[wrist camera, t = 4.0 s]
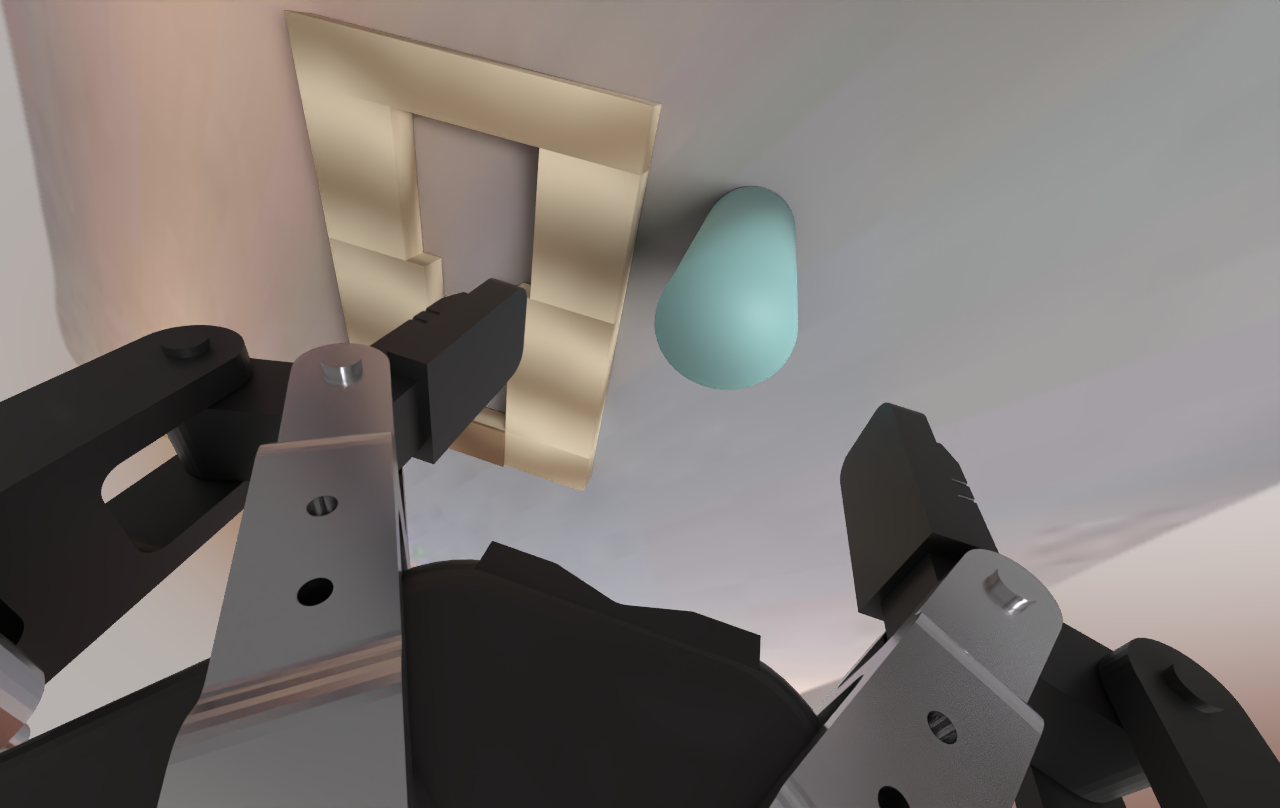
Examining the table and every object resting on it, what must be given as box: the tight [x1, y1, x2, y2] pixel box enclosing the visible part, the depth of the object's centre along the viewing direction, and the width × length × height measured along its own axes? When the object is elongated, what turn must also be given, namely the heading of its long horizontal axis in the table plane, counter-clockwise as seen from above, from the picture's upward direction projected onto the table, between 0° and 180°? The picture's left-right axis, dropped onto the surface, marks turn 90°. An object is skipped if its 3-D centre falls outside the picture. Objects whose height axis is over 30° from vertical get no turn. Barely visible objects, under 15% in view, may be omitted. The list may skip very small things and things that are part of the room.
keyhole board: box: [284, 10, 662, 491], centre depth 26 cm, size 22×16×2 cm
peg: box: [655, 186, 798, 390], centre depth 18 cm, size 4×4×10 cm
